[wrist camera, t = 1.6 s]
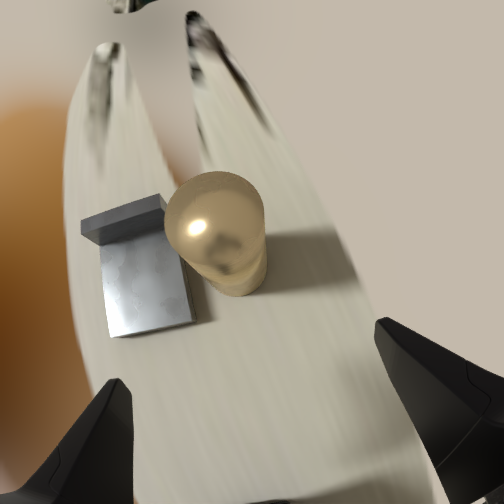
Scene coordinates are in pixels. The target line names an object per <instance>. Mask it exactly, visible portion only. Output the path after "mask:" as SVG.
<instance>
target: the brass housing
mask: <svg viewBox="0 0 504 504" xmlns="http://www.w3.org/2000/svg"><path fill="white" fill-rule="evenodd" d="M164 227H165V232H166V236H167V238H168V241H169V242H170V244H171V246H172V247H173V248H174V250H175V251H176V252H177V253H178V254H179V255H180V256H181V257H182V258H184V259H185V260H186V261H187V262H188V263H189V264H190V265H191V266H192V267H193V268H194V269H195V270H196V271H197V272H198V273H199V274H200V275H201V276H202V277H203V278H205V279H206V280H207V281H208V282H209V283H210V284H211V285H212V286H213V287H214V288H215V289H216V290H218V291H219V292H220V293H222V294H225V295H227V296H233V297H239V296H244V295H247V294H250V293H252V292H253V291H255V290H256V289H257V288H258V287H259V286H260V285H261V283H262V282H263V280H264V278H265V275H266V271H267V256H266V238H265V220H264V207H263V203H262V200H261V197H260V195H259V193H258V192H257V190H256V189H255V188H254V186H253V185H252V184H251V183H250V182H248V181H247V180H246V179H244V178H242V177H240V176H238V175H236V174H233V173H229V172H222V171H215V172H208V173H203V174H200V175H198V176H195V177H193V178H191V179H190V180H188V181H187V182H185V183H184V184H183V185H182V186H180V187H179V188H178V189H177V191H176V192H175V193H174V194H173V196H172V197H171V199H170V201H169V203H168V205H167V208H166V212H165V217H164Z"/></svg>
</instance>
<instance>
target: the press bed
mask: <svg viewBox="0 0 504 504" xmlns="http://www.w3.org/2000/svg"><path fill="white" fill-rule="evenodd" d="M166 208H167V203H166V202H165V201H164V199H163V198H162V197H161V195H160V194H156V195H153V196H149V197H146V198H143V199H140V200H137V201H134V202H131V203H128V204H125V205H122V206H119V207H116V208H114V209H111V210H108V211H105V212H102V213H100V214H97V215H94V216H91V217H89V218H86V219H83V220H81V235H83V236H84V237H86V238H88V239H89V240H91V241H92V242H94V243H96V244H97V245H99V246H100V259H101V270H102V280H103V289H104V297H105V305H106V312H107V319H108V325H109V331H110V337H114V338H121V337H126V336H131V335H137V334H142V333H147V332H151V331H156V330H161V329H166V328H170V327H175V326H180V325H184V324H189V323H193V322H197V320H196V315H195V311H194V306H193V302H192V297H191V292H190V287H189V282H188V277H187V272H186V267H185V262H184V258H182V257H181V256H180V255H179V254H178V253H177V252H176V251H175V250H174V248H173V247H172V246H171V244H170V242H169V241H168V238H167V236H166V232H165V227H164V217H165V212H166Z"/></svg>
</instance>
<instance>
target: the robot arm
mask: <svg viewBox="0 0 504 504" xmlns="http://www.w3.org/2000/svg"><path fill="white" fill-rule="evenodd" d="M374 340H375V344H376V346H377V348H378V351H379V353H380V356H381V358H382V361H383V363H384V366H385V368H386V371H387V373H388V376H389V378H390V380H391V382H392V384H393V386H394V388H395V390H396V392H397V393H398V395H399V397H400V399H401V401H402V403H403V405H404V407H405V409H406V411H407V413H408V415H409V416H410V418H411V420H412V422H413V424H414V426H415V428H416V430H417V432H418V434H419V436H420V438H421V440H422V443H423V445H424V447H425V449H426V451H427V453H428V455H429V457H430V459H431V461H432V463H433V466H434V468H435V470H436V472H437V475H438V476H439V479H440V481H441V484H442V486H443V488H444V490H445V493H446V495H447V497H448V500H449V502H450V504H471V503H473V502H475V501H477V500H478V499H480V498H482V497H484V498H485V500H486V501H485V502H484V503H483V504H504V378H503V377H501V376H498V375H496V374H494V373H492V372H489V371H487V370H485V369H483V368H481V367H479V366H477V365H475V364H473V363H472V362H470V361H468V360H465V359H464V358H462V357H460V356H459V355H457V354H455V353H453V352H451V351H450V350H448V349H446V348H444V347H442V346H440V345H439V344H437V343H435V342H433V341H431V340H429V339H427V338H426V337H424V336H422V335H420V334H418V333H416V332H415V331H413V330H411V329H409V328H407V327H405V326H404V325H402V324H400V323H398V322H396V321H394V320H392V319H390V318H389V317H384V318H381V319H378V320H377V321H376V323H375V333H374ZM133 445H134V426H133V408H132V395H131V392H130V391H129V389H128V388H127V387H126V385H125V384H124V383H123V382H122V380H121V379H119V378H116V379H109V380H108V381H107V382H106V384H105V385H104V386H103V387H102V389H101V390H100V391H99V392H98V394H97V395H96V396H95V397H94V399H93V400H92V401H91V402H90V404H89V405H88V406H87V408H86V409H85V410H84V412H83V413H82V414H81V415H80V417H79V418H78V419H77V420H76V422H75V423H74V424H73V426H72V427H71V428H70V429H69V431H68V432H67V433H66V435H65V436H64V437H63V439H62V440H61V441H60V443H59V444H58V446H57V447H56V448H55V449H54V450H53V452H52V453H51V454H50V455H49V457H48V458H47V459H46V461H45V462H44V463H43V464H42V465H41V466H40V468H39V469H38V470H37V471H36V472H35V473H34V474H33V475H32V476H31V477H30V479H29V480H28V481H27V482H26V483H25V484H24V485H23V486H22V487H21V488H20V489H18V490H16V491H14V492H10V493H6V494H0V504H134V500H133ZM271 504H290V502H288V501H282V502H276V503H271Z"/></svg>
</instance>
